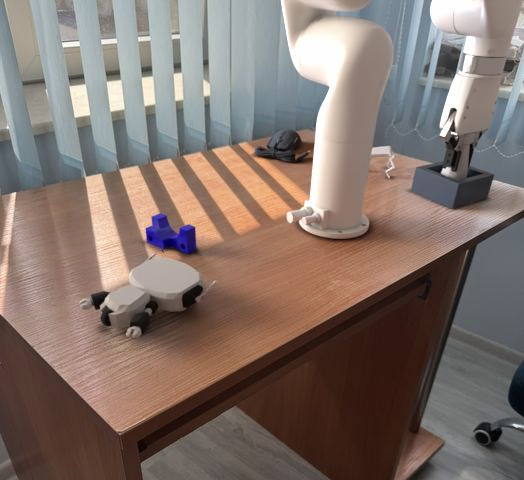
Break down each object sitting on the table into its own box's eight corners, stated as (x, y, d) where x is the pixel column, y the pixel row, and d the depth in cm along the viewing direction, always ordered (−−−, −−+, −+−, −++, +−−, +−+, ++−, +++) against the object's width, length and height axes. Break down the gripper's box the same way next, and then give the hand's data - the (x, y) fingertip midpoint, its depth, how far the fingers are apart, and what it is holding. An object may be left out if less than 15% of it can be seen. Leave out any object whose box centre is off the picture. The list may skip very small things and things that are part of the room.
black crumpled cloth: (327, 147, 132) (328, 130, 130) (296, 165, 120) (297, 147, 117) (284, 139, 137) (285, 123, 134) (250, 156, 124) (250, 138, 122)
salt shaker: (460, 190, 110) (477, 126, 102) (465, 200, 106) (484, 134, 98) (432, 188, 111) (447, 124, 103) (436, 198, 106) (453, 132, 98)
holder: (452, 209, 102) (458, 183, 99) (410, 191, 109) (415, 167, 106) (487, 198, 107) (494, 174, 104) (445, 182, 114) (451, 159, 111)
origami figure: (389, 183, 112) (393, 160, 109) (352, 176, 115) (355, 153, 112) (404, 168, 121) (408, 146, 118) (369, 161, 124) (373, 140, 121)
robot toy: (138, 359, 63) (222, 302, 72) (131, 330, 60) (220, 274, 69) (77, 321, 69) (162, 272, 78) (69, 292, 66) (157, 246, 75)
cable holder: (147, 242, 86) (144, 219, 84) (162, 235, 88) (160, 213, 86) (180, 257, 82) (179, 233, 80) (196, 249, 85) (195, 226, 82)
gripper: (492, 60, 100) (466, 157, 111) (435, 65, 92) (413, 169, 104) (527, 66, 95) (496, 167, 106) (469, 72, 88) (442, 180, 99)
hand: (455, 167), depth 105 cm, fingers closed on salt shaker, 3 cm apart
